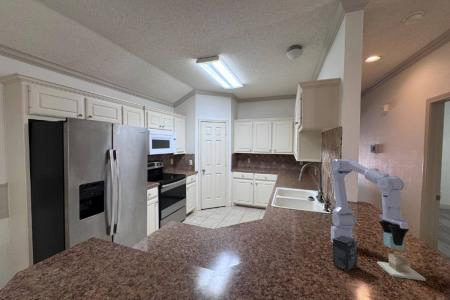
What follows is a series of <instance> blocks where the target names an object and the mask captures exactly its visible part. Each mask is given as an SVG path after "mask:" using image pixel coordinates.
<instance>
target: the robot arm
mask: <svg viewBox="0 0 450 300" xmlns="http://www.w3.org/2000/svg"><path fill="white" fill-rule="evenodd" d="M330 170H331V175H332V183H333V184H332V186H333V191H334V198H335V199H334V200H335V208H334V209H333V210H332V212H331V213H332V216H331V222H332V224H333V225H331V227H330V242H331V243H332V244H333V238H336V237H339V236H342V235H343V236H346V237H349V238H353V236H354V235H353V228H354V226H355V225H356V224H357V219H356V217H355V215H354V211H353V210H352V209H351V208H349V201H348V198H347V197H348V195H347V190H346V182H345V177H346V176H347V175H349V174H350V173H352V172H356V173H359V175H360V174H361V175H363V176H364V179H365V180H367V181H369V182H370V183H372V184H375V185H376V186H377V188H378V189H379V191H380V194H381V202H382V203H381V204H382V214H381V213H380V214H379V219H380V220H379V221H378V223H379V225H380V227H381V228H382V230H383V232H386V233H392V237H393V242H394V244H395V245H399V246H402V243H403V239H404V240H405V237H406V234H407V233H408V232H409V223H408V222H406V219H404V218H403V213H402V199H401V191H402V190H403V189H404V187H405V183H404V180H402V179H401V178H400V177H398V176H396V175H395V176H390V174H389V173H385V172H382V171H381V170H380V169H379V168H374V167H373V168H368V167H366V166H364V165H362V164H361V163H359V162H357V161H356V160H354V159H344V158H343V159H339V158H334V159H333V160H332V161H331V163H330ZM353 239H354V238H353Z"/></svg>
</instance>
